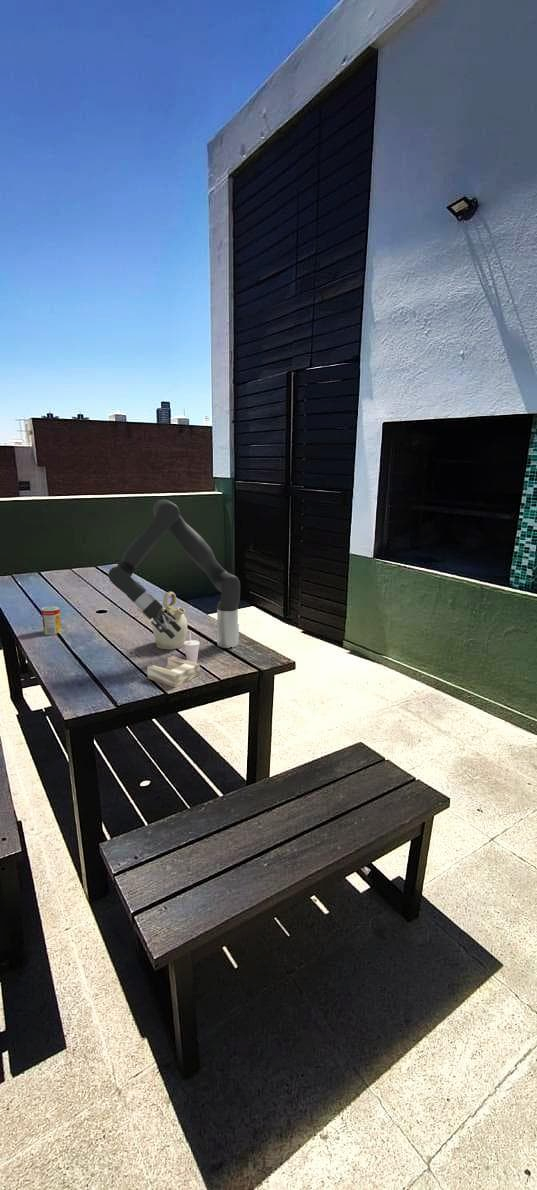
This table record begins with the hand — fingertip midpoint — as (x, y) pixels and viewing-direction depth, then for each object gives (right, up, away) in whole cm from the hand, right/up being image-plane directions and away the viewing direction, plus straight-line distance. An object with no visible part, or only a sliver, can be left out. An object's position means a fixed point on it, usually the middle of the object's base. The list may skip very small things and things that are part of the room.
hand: (176, 633), depth 197 cm
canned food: (-66, -2, +36) cm, 76 cm away
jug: (-7, -7, +24) cm, 26 cm away
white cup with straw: (+6, -13, +3) cm, 15 cm away
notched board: (+1, -16, -9) cm, 18 cm away
